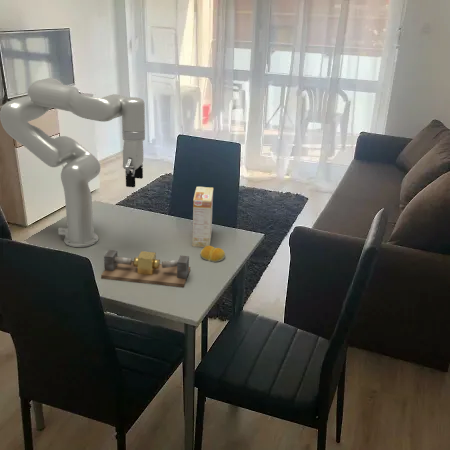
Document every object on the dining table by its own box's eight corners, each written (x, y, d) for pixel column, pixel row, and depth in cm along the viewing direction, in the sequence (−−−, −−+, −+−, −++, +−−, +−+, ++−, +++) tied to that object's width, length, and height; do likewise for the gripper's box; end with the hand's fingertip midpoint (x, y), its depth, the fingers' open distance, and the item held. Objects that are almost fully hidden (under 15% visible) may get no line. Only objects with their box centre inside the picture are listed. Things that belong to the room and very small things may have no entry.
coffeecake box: (194, 230, 205) (196, 186, 198) (212, 231, 205) (214, 187, 197) (191, 246, 192) (192, 199, 184) (209, 247, 192) (211, 200, 184)
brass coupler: (132, 273, 168) (132, 257, 166) (136, 266, 173) (136, 250, 170) (157, 275, 167) (157, 259, 165) (160, 268, 172) (160, 253, 170)
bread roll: (220, 264, 180) (220, 254, 179) (197, 259, 183) (197, 249, 181) (228, 255, 187) (228, 245, 186) (206, 250, 190) (206, 240, 188)
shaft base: (101, 278, 166) (100, 259, 163) (112, 261, 177) (112, 243, 174) (183, 287, 164) (184, 268, 161) (190, 270, 175) (190, 251, 172)
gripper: (130, 128, 178) (131, 174, 185) (115, 140, 163) (116, 189, 169) (150, 130, 178) (151, 175, 185) (137, 141, 162) (138, 191, 169)
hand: (134, 182), depth 177 cm, fingers open, 9 cm apart
